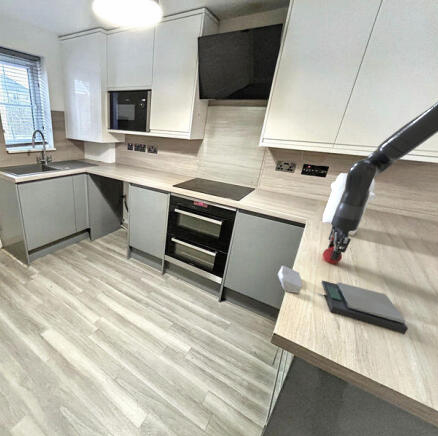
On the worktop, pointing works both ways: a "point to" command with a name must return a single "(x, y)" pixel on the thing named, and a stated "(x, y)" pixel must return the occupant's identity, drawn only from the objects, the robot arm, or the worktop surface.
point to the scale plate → (369, 302)
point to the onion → (328, 254)
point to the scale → (340, 308)
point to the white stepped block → (336, 196)
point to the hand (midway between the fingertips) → (332, 255)
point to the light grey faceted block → (290, 280)
